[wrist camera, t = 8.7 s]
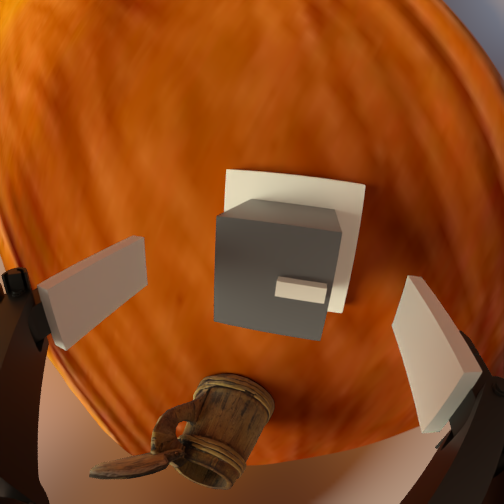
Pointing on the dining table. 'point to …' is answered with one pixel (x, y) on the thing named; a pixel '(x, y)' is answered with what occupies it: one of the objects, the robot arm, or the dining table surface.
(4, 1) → the dining table surface
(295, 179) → the white peg base
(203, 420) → the wooden mug
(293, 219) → the grey rectangular block
